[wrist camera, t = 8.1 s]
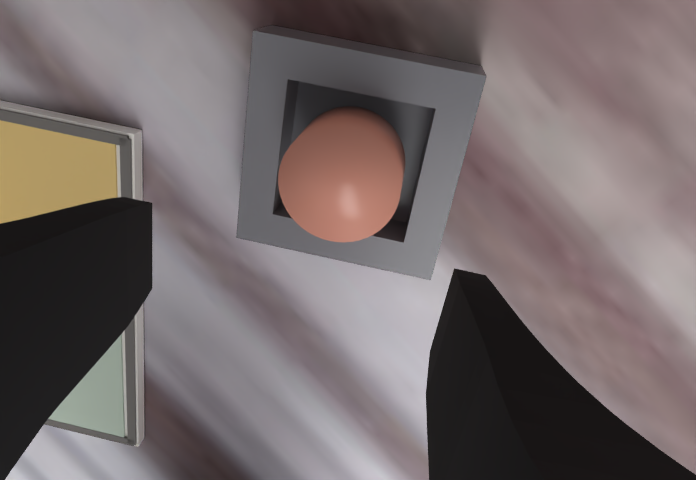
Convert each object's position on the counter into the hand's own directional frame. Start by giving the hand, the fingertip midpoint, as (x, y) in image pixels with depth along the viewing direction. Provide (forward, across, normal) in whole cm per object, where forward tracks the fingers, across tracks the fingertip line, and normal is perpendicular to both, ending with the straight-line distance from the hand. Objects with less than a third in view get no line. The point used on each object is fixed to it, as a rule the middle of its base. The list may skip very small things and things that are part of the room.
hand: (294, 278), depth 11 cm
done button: (+8, 0, 0) cm, 8 cm away
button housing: (+9, 0, 0) cm, 9 cm away
